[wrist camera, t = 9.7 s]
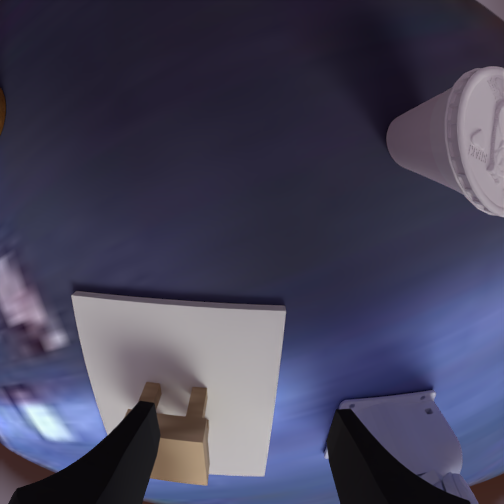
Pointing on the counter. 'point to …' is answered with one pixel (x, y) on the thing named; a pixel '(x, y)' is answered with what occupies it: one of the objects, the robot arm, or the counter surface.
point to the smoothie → (458, 138)
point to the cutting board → (188, 366)
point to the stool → (181, 439)
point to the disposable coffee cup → (2, 110)
